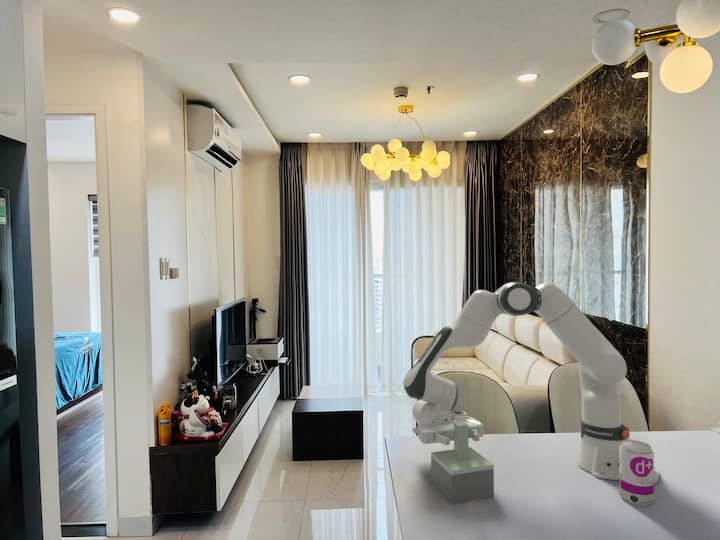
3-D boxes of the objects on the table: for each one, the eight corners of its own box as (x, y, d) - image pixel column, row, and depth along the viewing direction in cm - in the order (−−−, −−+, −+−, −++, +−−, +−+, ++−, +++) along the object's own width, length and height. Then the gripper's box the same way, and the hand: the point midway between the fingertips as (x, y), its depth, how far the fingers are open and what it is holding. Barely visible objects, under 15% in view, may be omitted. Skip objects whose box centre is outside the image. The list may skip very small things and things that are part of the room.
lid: (470, 455, 143) (469, 414, 143) (493, 474, 131) (493, 428, 131) (431, 461, 140) (430, 419, 140) (451, 480, 127) (450, 434, 127)
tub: (470, 477, 143) (470, 451, 143) (493, 497, 131) (493, 468, 131) (431, 483, 140) (431, 456, 140) (451, 504, 127) (451, 475, 127)
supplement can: (659, 508, 124) (659, 451, 124) (625, 505, 126) (624, 449, 125) (647, 493, 132) (646, 440, 132) (615, 490, 133) (614, 438, 133)
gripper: (410, 418, 145) (429, 433, 131) (469, 411, 150) (493, 425, 137) (410, 438, 145) (429, 456, 131) (469, 431, 150) (493, 446, 137)
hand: (462, 440), depth 134 cm, fingers open, 8 cm apart
